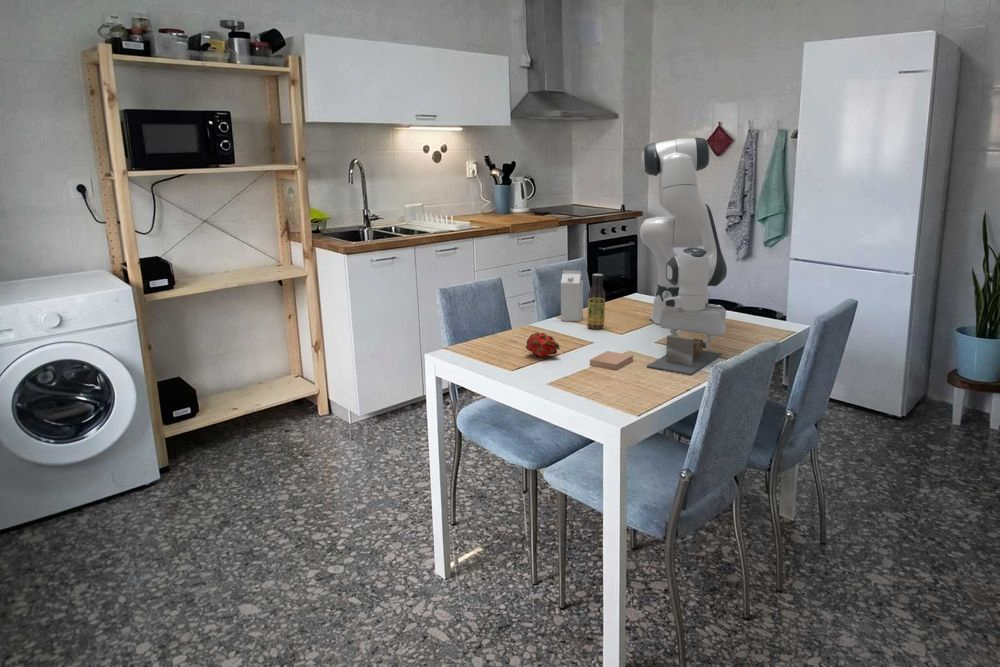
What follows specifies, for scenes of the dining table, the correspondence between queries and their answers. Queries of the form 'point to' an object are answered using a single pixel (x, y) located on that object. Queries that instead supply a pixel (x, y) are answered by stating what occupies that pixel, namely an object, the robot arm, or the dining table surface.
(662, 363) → the mat
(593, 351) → the dining table surface
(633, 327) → the dining table surface
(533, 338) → the dragon fruit
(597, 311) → the sauce bottle
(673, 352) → the wooden post on base
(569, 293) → the milk carton
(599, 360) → the tile
